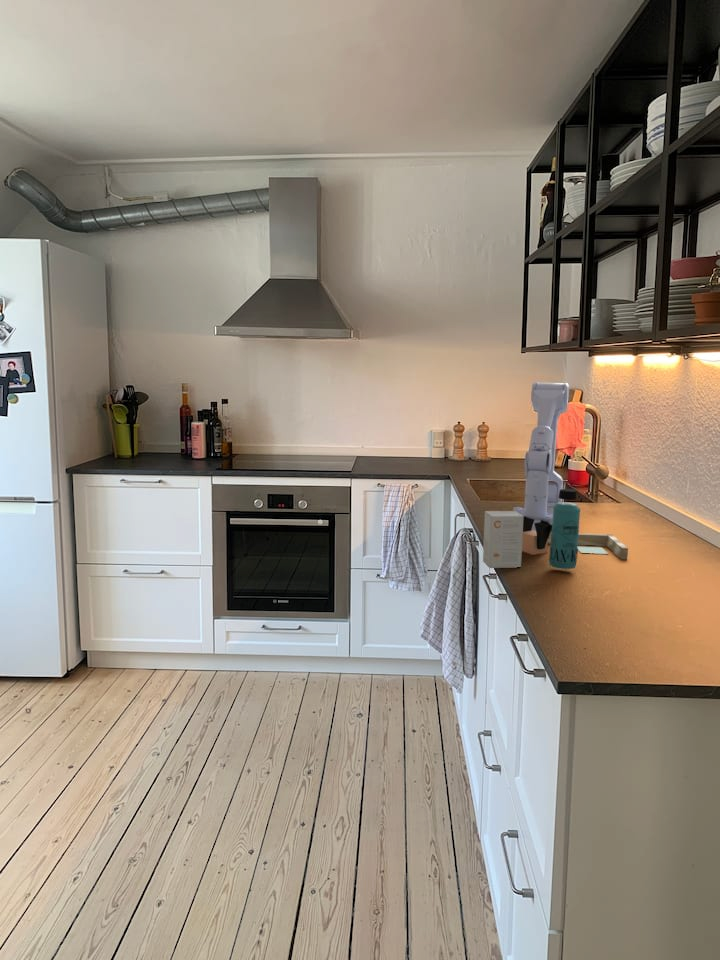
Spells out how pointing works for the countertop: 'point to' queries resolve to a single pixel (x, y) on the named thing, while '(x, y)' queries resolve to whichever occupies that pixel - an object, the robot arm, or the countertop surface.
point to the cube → (531, 543)
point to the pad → (591, 550)
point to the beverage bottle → (565, 532)
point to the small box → (503, 539)
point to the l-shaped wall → (603, 543)
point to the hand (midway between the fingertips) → (533, 546)
